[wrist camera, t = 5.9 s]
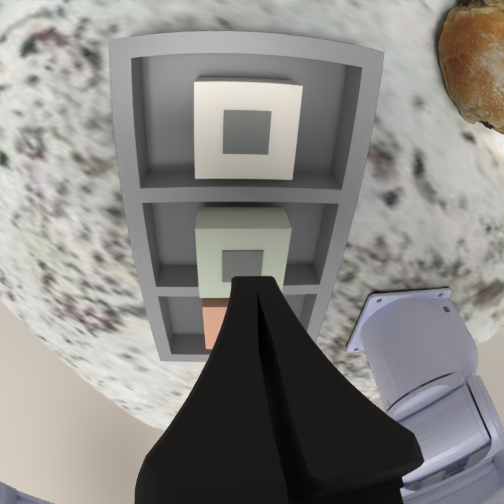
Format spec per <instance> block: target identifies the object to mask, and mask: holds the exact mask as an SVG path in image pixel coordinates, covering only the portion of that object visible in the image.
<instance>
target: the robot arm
mask: <svg viewBox="0 0 504 504" xmlns="http://www.w3.org/2000/svg"><path fill="white" fill-rule="evenodd" d="M451 293H452V290H451V289H450V288H443V289H431V290H420V291H407V292H394V293H380V294H372V295H370V296H369V297H368V299H367V302H366V304H365V307H364V309H363V311H362V314H361V316H360V318H359V321H358V323H357V325H356V328H355V330H354V332H353V334H352V336H351V339H350V341H349V343H348V345H347V347H346V350H347V352H349V353H352V352H360V351H365V353H366V356H367V359H368V361H369V364H370V367H371V370H372V373H373V376H374V379H375V382H376V385H377V388H378V391H379V394H380V397H381V400H382V403H383V406H384V409H385V412H386V413H385V412H383V411H382V410H381V409H380V408H378V407H377V406H376V405H374V404H373V403H372V402H371V401H370V400H369V399H368V398H367V397H365V396H364V395H363V394H362V393H361V392H360V391H359V390H358V389H357V388H355V387H354V386H353V385H352V384H351V383H350V382H349V381H348V380H347V379H346V378H345V377H344V376H343V375H342V374H341V373H340V372H339V371H338V370H337V368H336V367H335V366H334V365H333V364H332V363H331V362H330V361H329V359H328V358H327V357H326V356H325V355H324V354H323V352H322V351H321V350H320V349H319V347H318V346H317V345H316V343H315V342H314V341H313V339H312V338H311V337H310V335H309V334H308V333H307V331H306V330H305V328H304V327H303V325H302V324H301V322H300V321H299V319H298V318H297V316H296V315H295V313H294V312H293V310H292V309H291V307H290V305H289V304H288V302H287V300H286V299H285V297H284V295H283V293H282V292H281V290H280V288H279V286H278V284H277V282H276V280H275V278H274V277H273V276H234V277H233V278H232V279H231V292H230V297H229V302H228V306H227V310H226V313H225V316H224V319H223V323H222V326H221V329H220V331H219V334H218V336H217V339H216V341H215V344H214V346H213V349H212V351H211V353H210V356H209V358H208V360H207V362H206V364H205V366H204V368H203V370H202V372H201V374H200V376H199V378H198V380H197V382H196V383H195V385H194V387H193V389H192V391H191V392H190V394H189V396H188V398H187V399H186V401H185V402H184V404H183V406H182V407H181V409H180V410H179V412H178V413H177V415H176V416H175V418H174V419H173V421H172V422H171V424H170V425H169V427H168V428H167V429H166V431H165V432H164V434H163V435H162V436H161V437H160V439H159V440H158V441H157V442H156V444H155V445H154V446H153V448H152V449H151V450H150V452H149V453H148V454H147V455H146V457H145V460H144V462H143V464H142V467H141V469H140V472H139V474H138V478H137V482H136V487H135V504H504V433H503V430H504V429H503V426H502V423H501V421H500V418H499V416H498V413H497V411H496V409H495V407H494V404H493V402H492V400H491V397H490V395H489V393H488V391H487V389H486V387H485V385H484V383H483V380H482V379H481V377H480V376H479V375H475V372H476V369H477V366H478V354H477V348H476V344H475V342H474V340H473V338H472V336H471V334H470V333H469V331H468V329H467V327H466V326H465V324H464V322H463V321H462V319H461V317H460V315H459V314H458V312H457V311H456V309H455V307H454V306H453V304H452V302H451V301H450V299H449V297H450V295H451ZM0 504H54V503H51V502H47V501H45V500H42V499H39V498H36V497H33V496H30V495H28V494H25V493H23V492H20V491H18V490H16V489H15V488H13V487H11V486H8V485H6V484H4V483H2V482H0Z"/></svg>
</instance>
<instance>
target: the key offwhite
mask: <svg viewBox="0 0 504 504" xmlns="http://www.w3.org/2000/svg"><path fill="white" fill-rule="evenodd" d="M302 89H303V86H302V85H300V84H299V83H297V82H295V81H293V80H281V79H267V78H246V77H198V78H197V79H196V80H195V81H194V158H195V179H280V180H292V178H293V170H294V161H295V153H296V144H297V136H298V127H299V118H300V108H301V99H302Z"/></svg>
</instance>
